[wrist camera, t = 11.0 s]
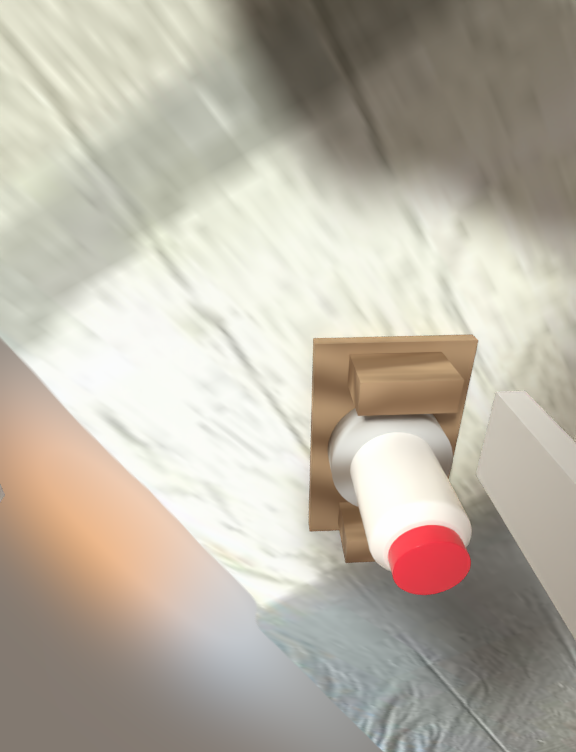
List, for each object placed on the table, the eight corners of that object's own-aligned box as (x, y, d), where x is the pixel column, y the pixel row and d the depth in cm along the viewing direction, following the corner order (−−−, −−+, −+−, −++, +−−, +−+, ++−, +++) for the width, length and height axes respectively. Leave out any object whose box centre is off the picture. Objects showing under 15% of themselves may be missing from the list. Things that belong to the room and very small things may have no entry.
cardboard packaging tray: (313, 338, 40) (321, 372, 34) (472, 334, 40) (505, 367, 35) (308, 522, 50) (314, 571, 45) (434, 517, 51) (455, 564, 45)
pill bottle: (418, 418, 39) (469, 513, 30) (446, 478, 43) (500, 582, 33) (335, 453, 41) (359, 556, 31) (369, 509, 44) (399, 617, 34)
